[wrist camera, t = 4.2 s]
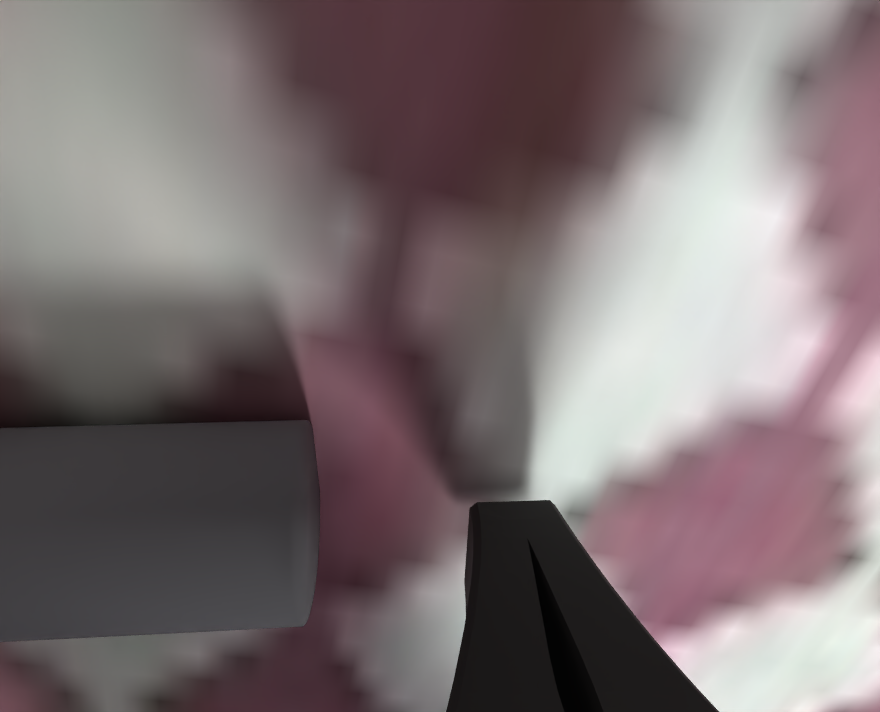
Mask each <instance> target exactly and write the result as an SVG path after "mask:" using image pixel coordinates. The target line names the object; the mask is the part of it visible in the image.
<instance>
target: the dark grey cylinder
mask: <svg viewBox="0 0 880 712" xmlns="http://www.w3.org/2000/svg"><path fill="white" fill-rule="evenodd" d="M319 535H320V489H319V480H318V471H317V462H316V453H315V444H314V435H313V428H312V426H311V423H310V422H309V421H308V420H284V421H246V422H209V423H171V424H134V425H96V426H59V427H22V428H0V642H10V641H29V640H49V639H69V638H88V637H108V636H127V635H147V634H166V633H186V632H206V631H225V630H245V629H264V628H284V627H303V626H304V625H305V624H306V622H307V620H308V618H309V615H310V611H311V607H312V603H313V597H314V591H315V584H316V576H317V566H318V554H319Z"/></svg>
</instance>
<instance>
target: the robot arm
mask: <svg viewBox="0 0 880 712" xmlns="http://www.w3.org/2000/svg"><path fill="white" fill-rule="evenodd" d="M465 597H466V621H465V627H464V632H463V637H462V642H461V647H460V652H459V657H458V662H457V667H456V672H455V677H454V681H453V685H452V690H451V694H450V698H449V702H448V706H447V710H446V712H719V711H718V710H717V709H716V708H715V707H714V706H713V705H712V704H711V703H710V702H709V701H708V699H707V698H706V697H705V696H704V695H703V694H702V693H701V692H700V691H699V690H698V689H697V688H696V686H695V685H694V684H693V683H692V682H691V681H690V680H689V679H688V678H687V676H686V675H685V674H684V673H683V672H682V671H681V670H680V669H679V667H678V666H677V665H676V664H675V663H674V662H673V660H672V659H671V658H670V657H669V656H668V655H667V654H666V652H665V651H664V650H663V649H662V648H661V647H660V645H659V644H658V643H657V642H656V641H655V640H654V638H653V637H652V636H651V635H650V633H649V632H648V631H647V630H646V629H645V627H644V626H643V625H642V624H641V623H640V621H639V620H638V619H637V618H636V616H635V615H634V614H633V612H632V611H631V610H630V609H629V607H628V606H627V605H626V604H625V602H624V601H623V600H622V598H621V597H620V596H619V595H618V593H617V592H616V591H615V590H614V588H613V587H612V586H611V584H610V583H609V582H608V580H607V579H606V578H605V576H604V575H603V574H602V572H601V571H600V570H599V568H598V567H597V566H596V564H595V563H594V561H593V560H592V559H591V557H590V556H589V554H588V553H587V552H586V550H585V549H584V547H583V546H582V545H581V543H580V542H579V540H578V539H577V537H576V536H575V535H574V533H573V532H572V530H571V529H570V527H569V526H568V524H567V523H566V521H565V520H564V518H563V517H562V515H561V514H560V512H559V511H558V509H557V508H556V506H555V505H554V504H553V503H552V502H551V501H550V500H540V501H509V502H477V503H476V504H474V505H473V506H472V507H470V510H469V524H468V539H467V553H466V567H465Z"/></svg>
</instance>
